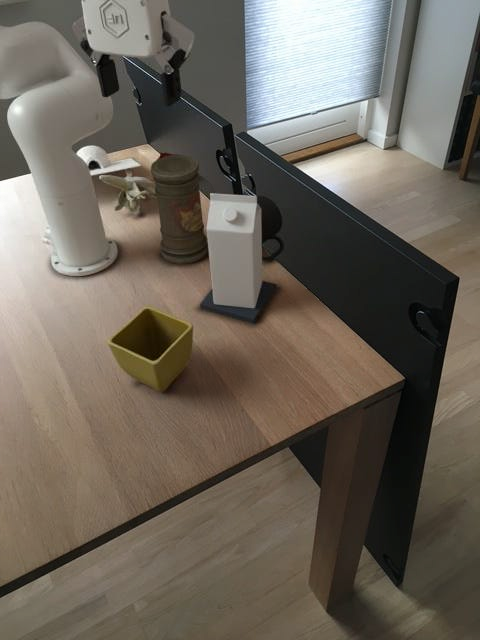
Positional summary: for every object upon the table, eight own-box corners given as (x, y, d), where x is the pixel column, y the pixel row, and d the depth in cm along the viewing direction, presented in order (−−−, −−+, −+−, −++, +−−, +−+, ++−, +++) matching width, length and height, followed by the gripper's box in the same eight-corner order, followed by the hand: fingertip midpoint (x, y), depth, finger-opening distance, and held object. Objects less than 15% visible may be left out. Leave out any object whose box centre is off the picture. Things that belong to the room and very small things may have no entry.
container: (154, 259, 103) (138, 172, 91) (175, 235, 109) (163, 150, 97) (196, 268, 100) (185, 180, 88) (215, 243, 106) (208, 157, 94)
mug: (284, 255, 108) (252, 280, 102) (243, 214, 109) (209, 235, 104) (302, 230, 101) (269, 255, 95) (259, 186, 103) (223, 208, 97)
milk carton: (223, 279, 96) (215, 182, 83) (262, 283, 95) (260, 185, 82) (213, 305, 91) (204, 205, 78) (255, 309, 90) (252, 209, 77)
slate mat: (200, 308, 92) (199, 304, 91) (226, 275, 98) (225, 271, 98) (253, 323, 88) (253, 319, 88) (276, 288, 95) (276, 284, 94)
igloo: (48, 184, 114) (40, 158, 111) (50, 174, 131) (44, 152, 129) (141, 165, 118) (135, 141, 116) (131, 158, 136) (126, 137, 133)
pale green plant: (168, 225, 116) (101, 212, 108) (145, 207, 129) (82, 194, 121) (178, 186, 114) (110, 169, 106) (153, 171, 126) (90, 156, 118)
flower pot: (164, 408, 76) (155, 364, 70) (117, 384, 80) (105, 341, 74) (200, 368, 81) (194, 324, 75) (155, 348, 85) (146, 304, 79)
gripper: (33, -54, 60) (71, 100, 72) (166, -51, 55) (184, 117, 66) (75, -64, 65) (104, 82, 77) (200, -62, 60) (212, 96, 71)
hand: (141, 98), depth 71 cm, fingers open, 9 cm apart
